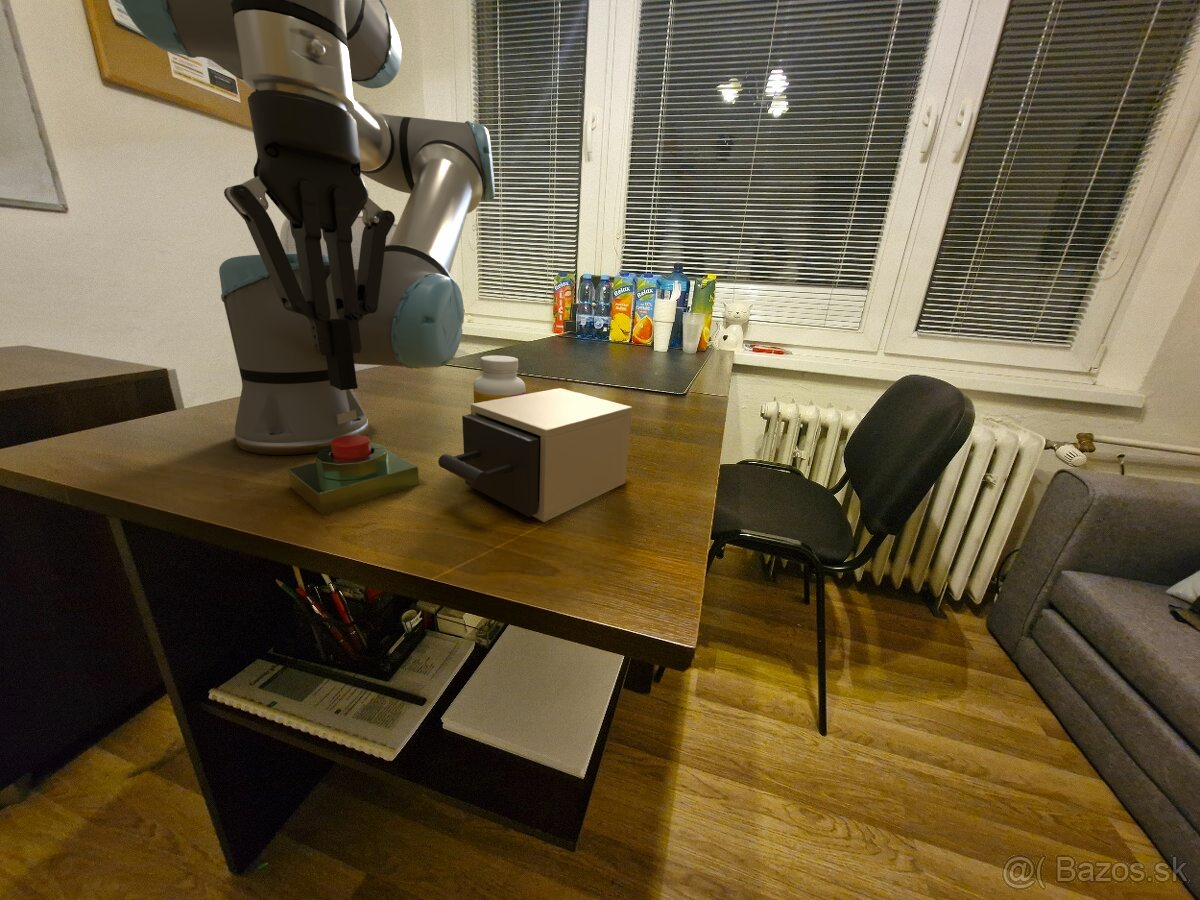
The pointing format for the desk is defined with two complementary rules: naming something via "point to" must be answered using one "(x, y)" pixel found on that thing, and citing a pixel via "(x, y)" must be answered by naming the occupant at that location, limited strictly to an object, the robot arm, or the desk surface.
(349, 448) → the button
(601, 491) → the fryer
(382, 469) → the block
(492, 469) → the drawer
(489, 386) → the supplement bottle
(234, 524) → the desk surface
